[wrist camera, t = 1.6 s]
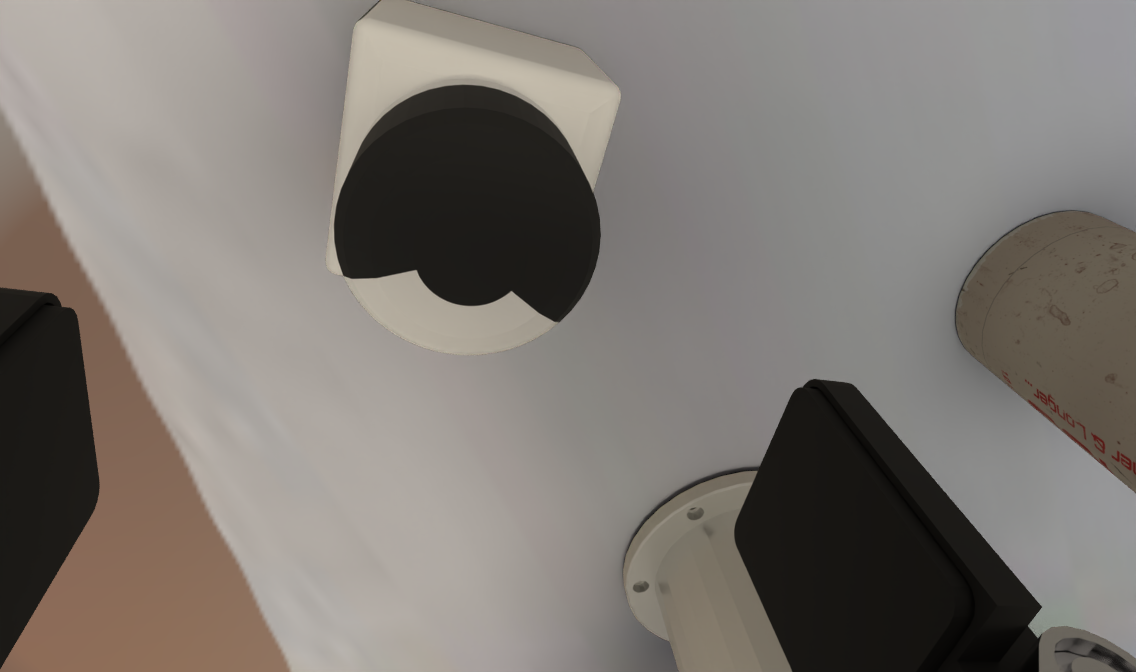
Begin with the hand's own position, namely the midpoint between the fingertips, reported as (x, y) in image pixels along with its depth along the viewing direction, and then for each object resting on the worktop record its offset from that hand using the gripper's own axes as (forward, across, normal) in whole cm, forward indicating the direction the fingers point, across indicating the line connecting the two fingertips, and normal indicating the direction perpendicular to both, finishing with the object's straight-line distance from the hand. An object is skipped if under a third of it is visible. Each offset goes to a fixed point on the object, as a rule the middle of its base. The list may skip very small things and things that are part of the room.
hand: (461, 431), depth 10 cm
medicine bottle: (+19, 0, +1) cm, 19 cm away
